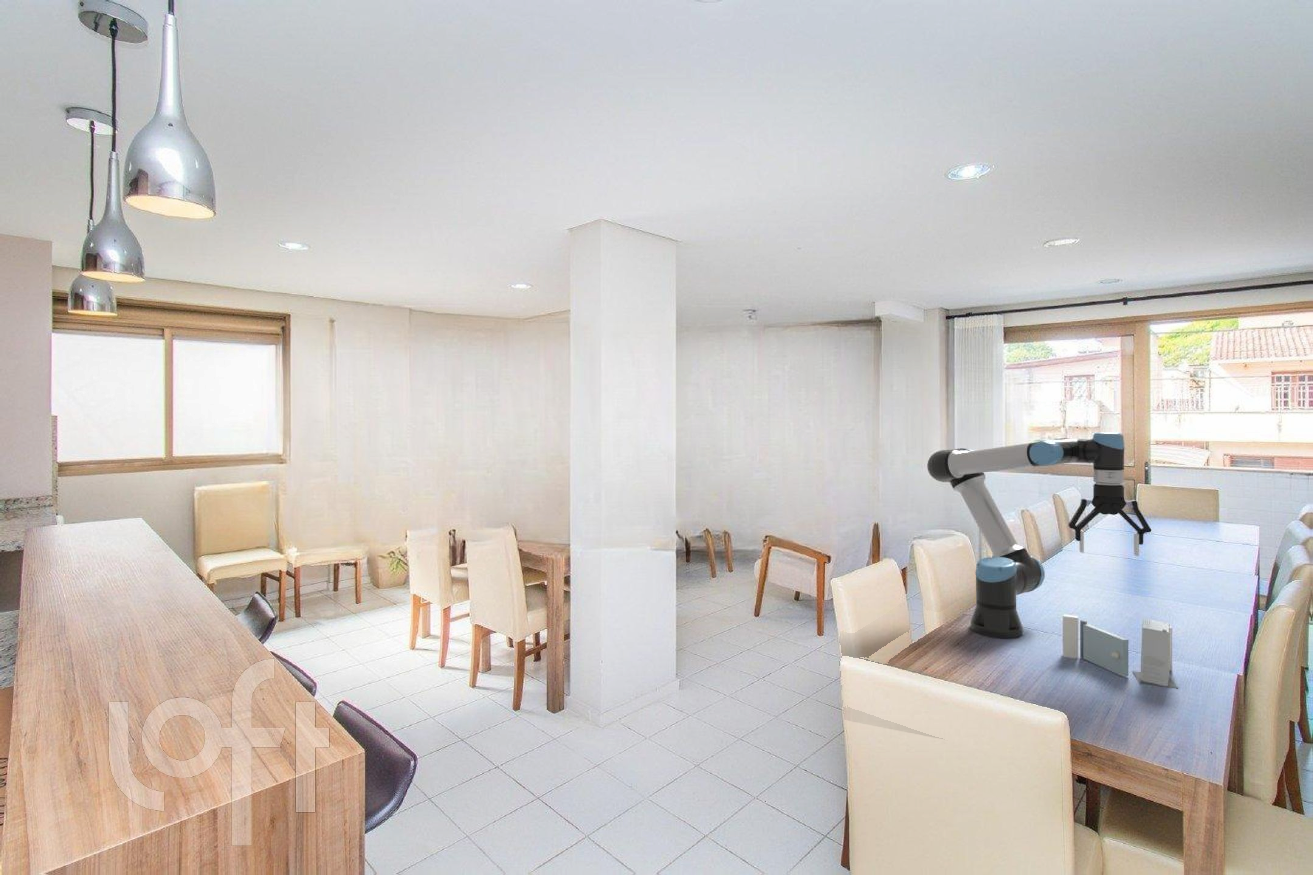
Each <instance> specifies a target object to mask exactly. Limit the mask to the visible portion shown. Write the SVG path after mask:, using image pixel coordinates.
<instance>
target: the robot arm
mask: <svg viewBox="0 0 1313 875" xmlns="http://www.w3.org/2000/svg"><path fill="white" fill-rule="evenodd" d="M1124 440H1125V439H1124V435H1123V434H1122V433H1120V432H1095V433H1093V435H1092V438H1069V437H1061V438H1054V439H1045V440H1039V441H1036V442H1028V443H1019V444H1014V445H1008V446H1007V445H1005V446H1001V447H991V448H986V449H980V450H973V449H970V448H955V449H942V450H939V451H936V452H934V453H932V455H930V457H929V459H928V460H927V464H926V465H927V471H928V474H929V475H930V476H931V477H932V479H934V480H935V481H938V482H941V483H949V484H950V485H951V487H952V489H953V491H956V492H959V493H960V495H961V496H962V498H963V500H964V501H963V502H964V503H965V504H966V506H967V508H968V510H969V512H970V514H971V516H972V517H973V519H974V522H975V523H976V525H977V527H978V529H979V531H980V532H981V535H982V536H983V538H984V540H985V542H986V544H987V545H988V548H989V550H990V552H991V553H992V556H991V557H990V556H988V557H984V558H982V559H980V560H978V561H977V563H976V566H975V567H976V568H975V594H976V595H975V597H976V600H975V601H976V602H975V603H976V604H975V605H976V606H975V608H974V611H973V613H972V616H971V618H970V629H971V630H972V631H973V632H975V633H978V634H979V635H983V636H986V637H990V638H991V637H992V638H999V639H1015V638H1020V637H1021V636H1023V631H1024V630H1023V625H1022V621H1021V619H1020V617H1019V613H1018V611H1017V596H1019V595H1022V594H1025V593H1026V594H1027V593H1030V592H1033V591H1035V590H1036V589H1038V588H1040V586H1042V585H1043V582H1044V580H1045V577H1046V574H1045V568H1044V566H1043V564H1042V563H1041V562H1040V560H1039V559H1038V558H1036V557H1034V556H1031V555H1030V553H1029V552H1028V550H1027V549H1026V547H1025V546H1022V545H1019V543H1018V542H1017V540H1016V539H1015V537H1014V535H1013V533H1012V531H1011V530H1010V528H1009V526H1008V524H1007V522H1006V521H1005V518H1004V517H1003V515H1002V513H1001V511H1000V509H999V508H998V506H997V504H996V503H995V500H994V499H993V497H992V495H991V493H990V492H989V490H988V488H987V486H986V484H985V480H986V479H987V478H986V473H988V472H989V473H990V472H991V473H992V472H998V471H999V472H1000V471H1007V470H1009V471H1010V470H1017V469H1025V468H1035V467H1049V466H1055V465H1062V464H1064V465H1065V464H1072V463H1077V464H1078V463H1080V464H1081V463H1082V464H1092V466H1093V468H1092V469H1093V472H1092V473H1093V474H1092V475H1093V480H1092V481H1093V482H1094V484H1093V485H1092V486H1093V490H1092V491H1093V496H1092V499H1086V498H1084V497H1083V498H1081V499H1080V504H1079V507H1078V508H1077V509H1076V511H1075V513H1074V514H1073V516H1072V518H1071V519H1070V521H1069V523H1068V525H1067V526H1068V527H1069V528H1070V529H1072V530H1074V533H1075V534H1074V536H1075V541H1077V542H1079V552H1080V553H1081V554H1082V553H1084V552H1085V551H1084V550H1085V546H1084V545H1085V540H1084V539H1085V538H1084V537H1085V531H1084V530H1083V528H1085V526H1087V525H1088V524H1089V523H1090V522H1091V521H1092V520H1093V519H1095V517H1096V516H1098V515H1100V514H1101V515H1106V516H1107V515H1112V516H1116V515H1118V514H1119V515H1120V517H1121V518H1123V519H1124V520H1125V521H1126V522H1127V523H1128V524H1129V525H1130V526H1131V527H1132V528H1133V529H1134V530H1135V532H1133V555H1134V556H1135V557H1140V546H1141V545H1144V535H1145V534H1147V533H1151V532H1152V528H1151V527H1150V525H1149V524H1148V522H1147V520H1146V519H1145V517H1144V515H1143V513H1142V512H1141V510H1140V508H1139V504H1138V501H1137V500H1135V499H1131V500H1125V486H1124V484H1123V483H1124V482H1125V466H1124V465H1125V449H1126V448H1125V442H1124ZM1090 505H1092V506H1093V507H1094V508H1093V509H1092V510H1091V511H1090V512H1089V513H1088V514H1087V515H1086V516H1085V517H1084V518H1083V519H1082V520H1081V521H1080V522H1079V523H1077V522H1078V521H1079V520H1080V518H1081V517H1082V515H1083V513H1084V511H1085V510H1086V508H1087V507H1089V506H1090ZM1126 505H1127V506H1128V507H1129V509H1132V511H1133V513H1134V515H1135V517H1136V518H1137V520H1138V521H1139V523H1140V525H1141V526H1142V527H1140V526H1139V525H1138V524H1137V523H1136V522H1135V521H1134V520H1133V519H1132V518H1131V517H1130V516H1129V515H1128V514H1127V513H1126V512H1125V511H1124V510H1123V509H1124V508H1125V507H1126Z"/></svg>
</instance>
